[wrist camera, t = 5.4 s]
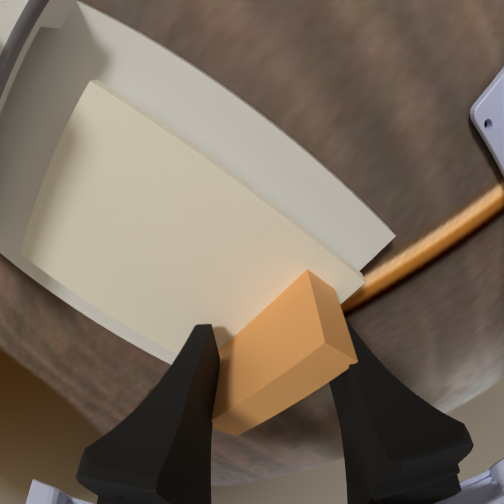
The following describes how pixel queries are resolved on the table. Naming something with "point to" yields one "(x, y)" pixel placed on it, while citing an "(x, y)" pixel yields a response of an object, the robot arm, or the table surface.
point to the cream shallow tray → (191, 257)
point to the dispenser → (164, 109)
